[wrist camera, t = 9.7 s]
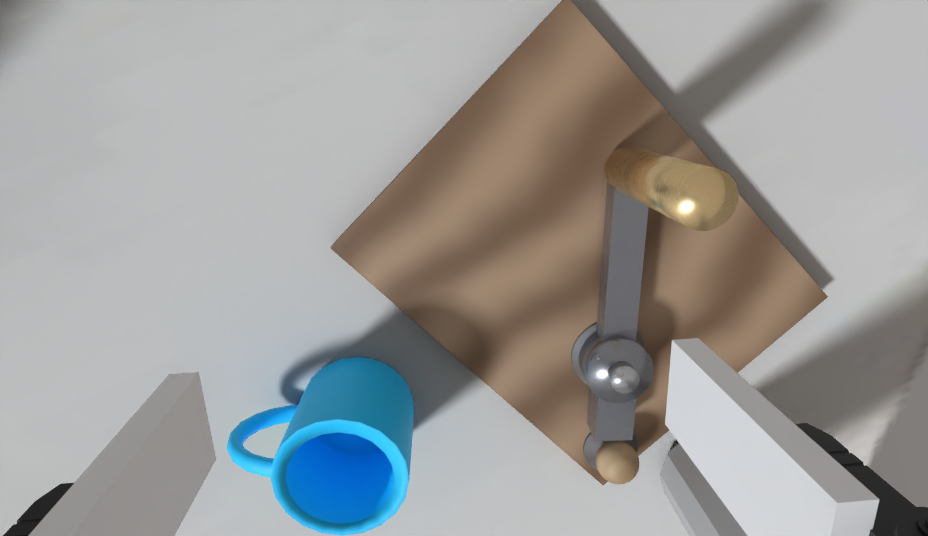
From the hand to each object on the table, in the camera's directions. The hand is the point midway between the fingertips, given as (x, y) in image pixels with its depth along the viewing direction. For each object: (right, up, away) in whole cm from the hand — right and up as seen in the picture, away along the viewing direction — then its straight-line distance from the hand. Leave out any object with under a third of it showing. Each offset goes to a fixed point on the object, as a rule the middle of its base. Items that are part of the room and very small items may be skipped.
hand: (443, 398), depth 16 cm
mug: (-9, -6, +26) cm, 28 cm away
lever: (+11, +2, +22) cm, 25 cm away
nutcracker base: (+9, +4, +23) cm, 25 cm away
